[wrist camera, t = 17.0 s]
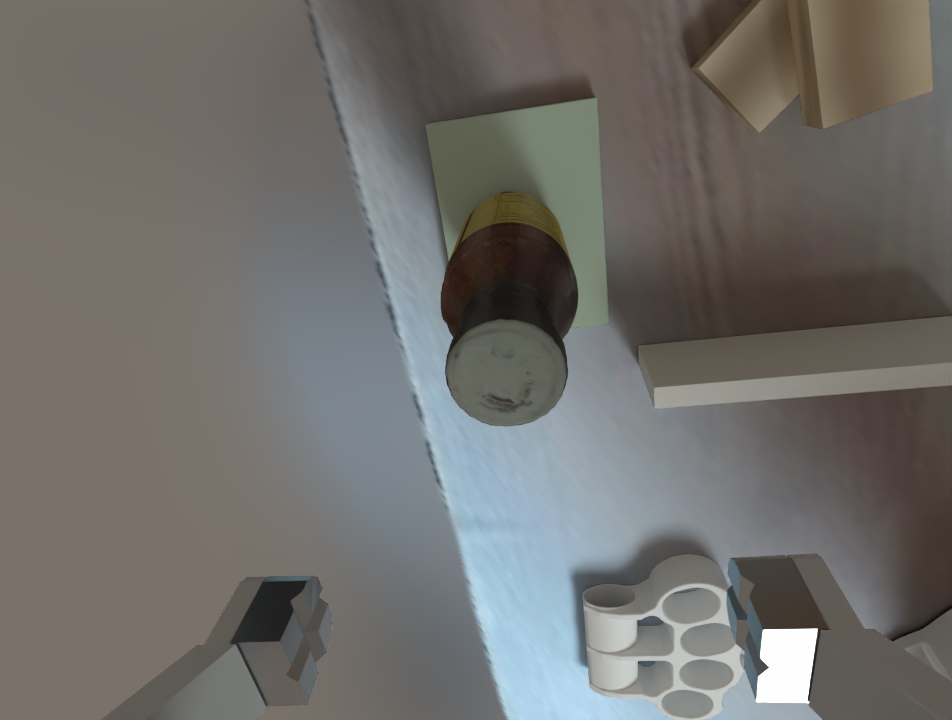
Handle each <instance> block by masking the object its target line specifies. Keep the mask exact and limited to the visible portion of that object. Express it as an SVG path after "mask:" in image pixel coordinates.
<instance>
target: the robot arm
mask: <svg viewBox="0 0 952 720" xmlns="http://www.w3.org/2000/svg"><path fill="white" fill-rule="evenodd" d="M728 576H729V578H730V581H731V584H732V586H731V587H730V588H729V589H728V590H727V602H726V604H727V612H728V620H729V623H730V627H731V631H732V634H733V637H734V640H735V643H736V644H737V645H738V646H739V647H740V648H741V649H742V650H744V651H745V653H744V669H745V671H746V674H747V677H748V680H749V683H750V685H751V688H752V691H753V694H754V696H755V699H756V702H792V703H809V706H810V707H811V708H812V709H813V710H814V711H815V712H816V713H817V714H818V715H819V716H820V717H821V718H822V719H823V720H952V609H951V610H949V611H947V612H946V613H944V614H943V615H941V616H940V617H939V618H937V619H936V620H935V621H933V622H932V623H931V624H929V625H928V626H926V627H925V628H923V629H921V630H919V631H916V632H914V633H911V634H908V635H906V636H903V637H901V638H899V639H897V640H895V641H893V642H892V641H891V640H890V639H888V638H887V637H885V636H884V635H882V634H881V633H879V632H878V631H876V630H875V629H864V627H863V625H862V624H861V622H860V620H859V619H858V617H857V615H856V614H855V612H854V610H853V609H852V607H851V605H850V604H849V602H848V600H847V599H846V597H845V595H844V594H843V592H842V590H841V589H840V587H839V585H838V584H837V582H836V580H835V579H834V577H833V575H832V574H831V572H830V570H829V569H828V567H827V565H826V564H825V562H824V560H823V559H822V557H820V556H819V555H818V554H799V555H787V556H785V555H777V556H758V557H739V558H730V560H729V563H728ZM322 589H323V588H322V586H321V584H320V581H319V579H318V577H315V576H269V577H247V578H245V579H244V580H243V581H241V582H240V584H239V585H238V587H237V589H236V590H235V592H234V594H233V596H232V597H231V599H230V601H229V602H228V604H227V606H226V608H225V610H224V611H223V613H222V614H221V616H220V618H219V620H218V621H217V623H216V625H215V627H214V628H213V630H212V632H211V633H210V635H209V637H208V639H207V640H206V642H205V644H204V645H197V646H195V647H194V648H193V649H191V650H190V651H189V652H188V653H186V654H185V655H184V656H182V657H181V658H180V659H179V660H177V661H176V662H175V663H173V664H172V665H171V666H169V667H168V668H167V669H166V670H164V671H163V672H162V673H160V674H159V675H158V676H157V677H155V678H154V679H153V680H151V681H150V682H149V683H148V684H146V685H145V686H144V687H143V688H141V689H140V690H139V691H137V692H136V693H135V694H133V695H132V696H131V697H130V698H128V699H127V700H126V701H124V702H123V703H122V704H121V705H119V706H118V707H117V708H115V709H114V710H113V711H111V712H110V713H109V714H108V715H107V716H105V717H104V718H102V719H101V720H258V718H259V717H260V716H261V715H262V714H263V713H264V712H265V711H266V709H267V708H266V706H289V705H308V702H309V699H310V697H311V693H312V691H313V688H314V685H315V682H316V680H317V677H318V674H319V671H318V669H317V666H316V662H317V661H318V660H319V659H320V658H321V657H322V656H323V655H324V654H325V653H326V652H327V649H328V646H329V643H330V640H331V633H332V624H333V623H332V615H331V611H330V608H329V605H328V603H326V602H325V601H323V600H322V599H321V598H320V597H319V596H320V594H321V591H322Z"/></svg>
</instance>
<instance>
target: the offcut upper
mask: <svg viewBox="0 0 952 720" xmlns="http://www.w3.org/2000/svg"><path fill="white" fill-rule="evenodd" d="M787 6H788V13H789V21H790V28H791V36H792V43H793V51H794V58H795V66H796V73H797V81H798V88H799V96H800V103H801V111H802V118H803V125H806V126H810V127H815V128H819V129H826V128H828V127H831V126H834V125H837V124H840V123H843V122H846V121H849V120H851V119H854V118H857V117H860V116H863V115H866V114H869V113H871V112H874V111H877V110H880V109H883V108H886V107H889V106H892V105H894V104H897V103H900V102H903V101H906V100H909V99H912V98H915V97H917V96H920V95H923V94H926V93H929V92H932V91H933V80H932V58H931V36H930V14H929V0H787Z"/></svg>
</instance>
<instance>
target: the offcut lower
mask: <svg viewBox="0 0 952 720" xmlns="http://www.w3.org/2000/svg"><path fill="white" fill-rule="evenodd" d="M691 69H692V70H693V71H694V72H695V74H696V75H697V76H698V77H699V78H700V79H701V80H702V81H703V82H704V83H705V84H706V85H707V86H708V87H709V88H710V89H711V90H712V92H713V93H714V94H715V95H716V96H717V97H718V98H719V99H720V100H721V101H722V102H723V103H724V104H725V105H726V106H727V107H728V108H729V110H730V111H731V112H732V113H733V114H734V115H735V116H736V117H737V118H738V119H739V120H740V121H741V122H742V123H743V124H744V125H745V127H746V128H747V129H748V130H750V131H754V132H757V133H760V132H761V131H762V130H763V129H764V128H765V127H766V126H767V125H768V124H769V123H770V122H771V121H772V120H773V119H774V118H775V117H776V116H777V115H778V114H779V113H780V112H782V111H783V110H784V109H785V108H786V107H787V106H788V105H789V104H790V103H791V102H792V101H793V100H794V99H795V98H796V97H797V96H798V95H799V88H798V81H797V73H796V66H795V58H794V51H793V43H792V36H791V28H790V21H789V13H788V6H787V0H753V1H752V2H751V3H750V4H749V5H748V6H747V7H746V9H745V10H744V11H743V12H742V13H741V14H740V15H739V16H738V17H737V18H736V19H735V21H734V22H733V23H732V24H731V25H730V26H729V27H728V28H727V29H726V30H725V31H724V33H723V34H722V35H721V36H720V37H719V38H718V39H717V40H716V41H715V42H714V43H713V45H712V46H711V47H710V48H709V49H708V50H707V51H706V52H705V53H704V54H703V56H702V57H701V58H700V59H699V60H698V61H697V62H696V63H695V64H694V65H693V66H692V68H691Z"/></svg>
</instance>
